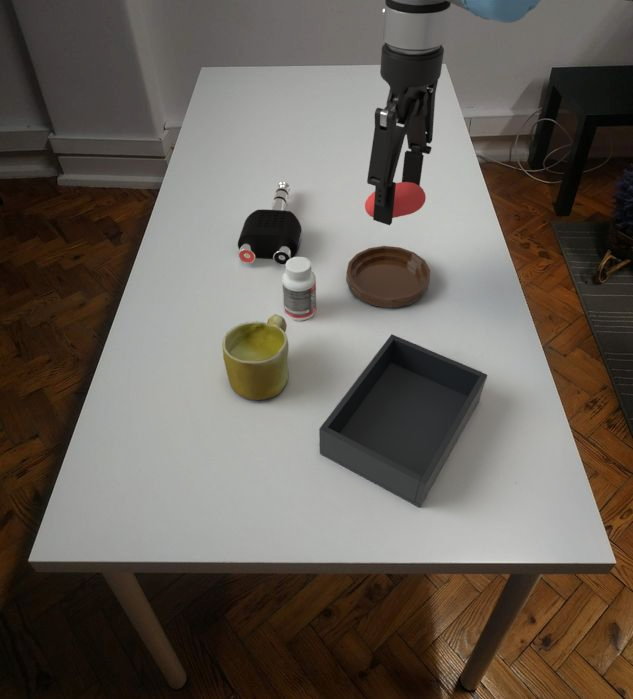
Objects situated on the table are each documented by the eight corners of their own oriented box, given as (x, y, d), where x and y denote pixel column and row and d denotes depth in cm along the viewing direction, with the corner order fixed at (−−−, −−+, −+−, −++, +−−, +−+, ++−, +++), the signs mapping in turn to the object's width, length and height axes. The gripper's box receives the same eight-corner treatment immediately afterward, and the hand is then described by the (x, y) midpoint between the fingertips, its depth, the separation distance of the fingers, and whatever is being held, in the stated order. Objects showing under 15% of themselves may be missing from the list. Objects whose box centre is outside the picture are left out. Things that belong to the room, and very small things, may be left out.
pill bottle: (319, 318, 91) (319, 272, 84) (287, 324, 91) (284, 277, 83) (312, 297, 95) (310, 251, 88) (281, 302, 94) (277, 256, 87)
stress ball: (423, 233, 83) (438, 191, 81) (369, 219, 80) (383, 175, 78) (409, 225, 88) (423, 185, 85) (358, 211, 84) (371, 169, 82)
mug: (266, 417, 76) (252, 352, 71) (216, 399, 82) (200, 339, 77) (321, 375, 84) (311, 315, 79) (272, 362, 90) (260, 305, 85)
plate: (441, 273, 99) (443, 262, 97) (405, 321, 91) (407, 310, 89) (371, 248, 104) (372, 237, 102) (331, 291, 96) (331, 280, 94)
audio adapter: (232, 243, 97) (257, 170, 114) (236, 267, 101) (260, 193, 118) (294, 246, 96) (310, 172, 113) (295, 270, 100) (311, 195, 117)
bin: (479, 400, 79) (487, 374, 75) (419, 508, 68) (425, 484, 64) (388, 360, 85) (391, 333, 81) (319, 454, 74) (319, 428, 70)
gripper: (422, 14, 74) (405, 169, 91) (342, 66, 63) (339, 234, 79) (475, 23, 72) (447, 181, 88) (402, 80, 60) (386, 251, 76)
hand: (396, 206), depth 84 cm, fingers closed on stress ball, 8 cm apart
